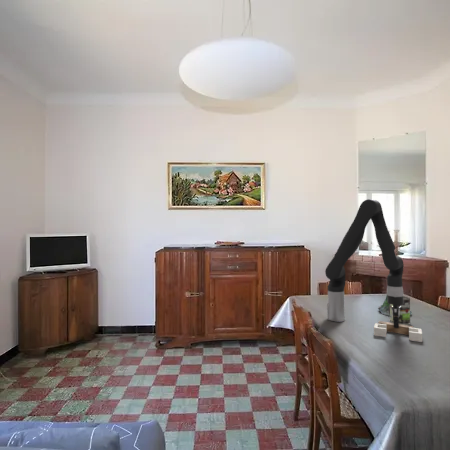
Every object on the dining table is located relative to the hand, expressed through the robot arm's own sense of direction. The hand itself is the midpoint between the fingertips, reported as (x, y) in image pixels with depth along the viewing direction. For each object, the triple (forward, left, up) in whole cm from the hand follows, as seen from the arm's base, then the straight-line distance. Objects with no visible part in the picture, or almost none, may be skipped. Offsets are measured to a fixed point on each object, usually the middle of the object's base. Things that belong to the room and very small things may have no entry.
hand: (396, 325), depth 165 cm
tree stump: (-2, +38, -4) cm, 38 cm away
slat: (0, 0, -4) cm, 4 cm away
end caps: (+1, -7, -3) cm, 8 cm away
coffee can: (+2, +18, -3) cm, 18 cm away
